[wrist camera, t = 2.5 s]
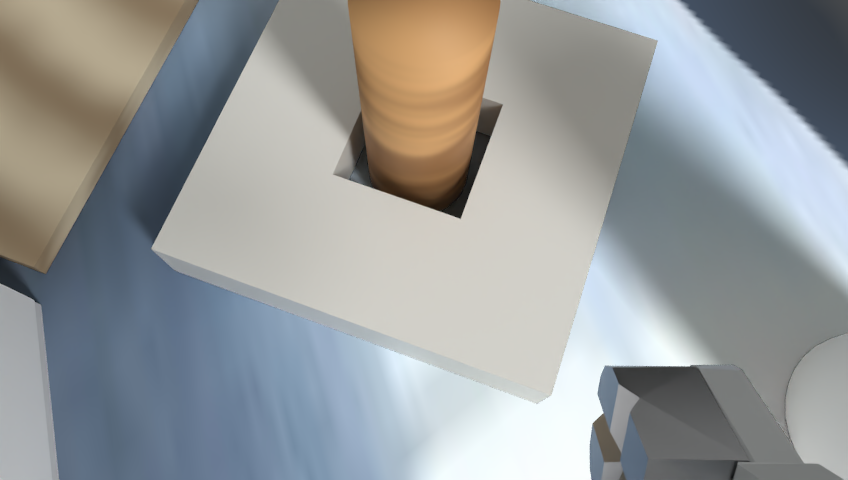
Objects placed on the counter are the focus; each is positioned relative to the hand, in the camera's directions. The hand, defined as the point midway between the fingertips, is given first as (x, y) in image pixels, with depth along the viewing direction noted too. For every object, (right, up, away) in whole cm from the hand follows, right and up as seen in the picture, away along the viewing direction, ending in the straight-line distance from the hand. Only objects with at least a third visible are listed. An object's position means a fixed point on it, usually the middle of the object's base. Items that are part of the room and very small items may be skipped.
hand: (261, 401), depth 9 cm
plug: (+2, +5, +23) cm, 24 cm away
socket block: (+2, +5, +23) cm, 24 cm away
